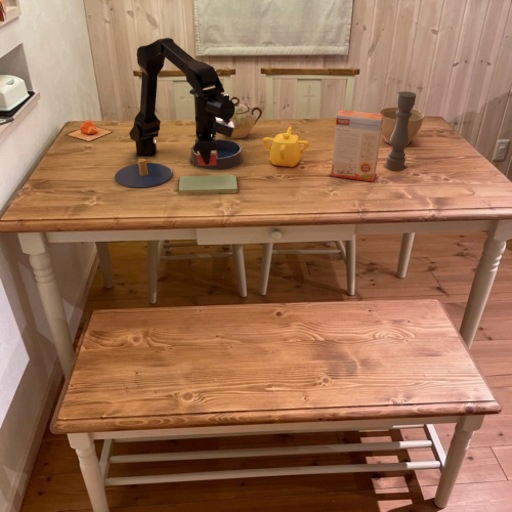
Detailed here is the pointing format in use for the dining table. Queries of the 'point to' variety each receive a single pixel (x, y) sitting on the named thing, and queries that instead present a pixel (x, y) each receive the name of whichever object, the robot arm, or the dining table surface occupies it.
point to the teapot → (285, 149)
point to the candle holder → (400, 131)
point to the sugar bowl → (243, 119)
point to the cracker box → (356, 145)
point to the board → (208, 184)
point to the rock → (89, 131)
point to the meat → (211, 162)
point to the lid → (143, 175)
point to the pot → (221, 155)
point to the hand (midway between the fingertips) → (207, 161)
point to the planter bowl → (391, 119)
